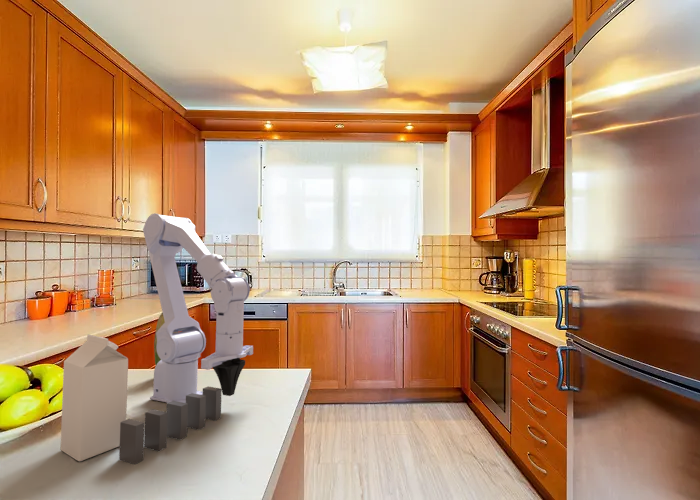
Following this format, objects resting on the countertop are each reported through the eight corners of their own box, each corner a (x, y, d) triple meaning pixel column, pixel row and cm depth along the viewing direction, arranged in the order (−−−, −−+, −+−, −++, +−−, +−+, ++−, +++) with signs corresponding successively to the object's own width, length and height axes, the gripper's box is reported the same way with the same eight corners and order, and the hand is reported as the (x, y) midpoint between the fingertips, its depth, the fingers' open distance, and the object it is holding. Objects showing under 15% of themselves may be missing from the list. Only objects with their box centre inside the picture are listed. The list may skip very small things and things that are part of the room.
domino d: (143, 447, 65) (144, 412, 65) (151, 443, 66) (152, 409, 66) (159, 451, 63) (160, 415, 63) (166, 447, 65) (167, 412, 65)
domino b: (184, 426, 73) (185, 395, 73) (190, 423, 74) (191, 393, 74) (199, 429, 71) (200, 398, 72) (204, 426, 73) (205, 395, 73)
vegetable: (182, 377, 104) (184, 305, 105) (159, 382, 99) (162, 307, 100) (172, 372, 108) (174, 303, 109) (149, 377, 103) (151, 305, 104)
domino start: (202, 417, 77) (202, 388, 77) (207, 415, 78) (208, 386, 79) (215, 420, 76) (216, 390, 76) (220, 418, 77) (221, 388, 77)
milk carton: (79, 463, 59) (83, 342, 60) (59, 450, 63) (64, 337, 64) (125, 444, 65) (129, 335, 66) (105, 434, 69) (109, 331, 70)
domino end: (119, 459, 60) (120, 422, 61) (127, 455, 62) (129, 418, 62) (134, 464, 59) (135, 426, 59) (143, 460, 60) (144, 422, 61)
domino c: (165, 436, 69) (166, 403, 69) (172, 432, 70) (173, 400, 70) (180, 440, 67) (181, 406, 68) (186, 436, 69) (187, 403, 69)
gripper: (221, 339, 74) (219, 409, 73) (264, 328, 87) (263, 386, 87) (193, 336, 77) (192, 403, 76) (239, 326, 90) (238, 383, 90)
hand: (228, 394), depth 82 cm, fingers closed
